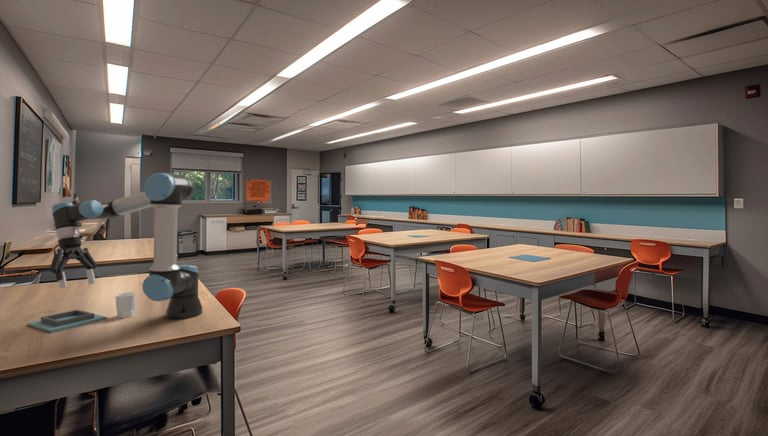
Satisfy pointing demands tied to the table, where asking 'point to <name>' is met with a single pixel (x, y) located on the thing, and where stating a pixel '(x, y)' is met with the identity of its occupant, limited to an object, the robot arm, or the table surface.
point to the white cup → (125, 304)
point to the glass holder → (66, 320)
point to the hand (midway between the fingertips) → (78, 285)
